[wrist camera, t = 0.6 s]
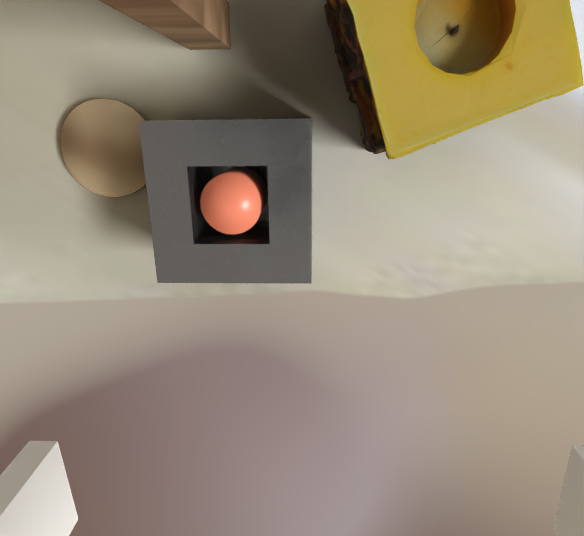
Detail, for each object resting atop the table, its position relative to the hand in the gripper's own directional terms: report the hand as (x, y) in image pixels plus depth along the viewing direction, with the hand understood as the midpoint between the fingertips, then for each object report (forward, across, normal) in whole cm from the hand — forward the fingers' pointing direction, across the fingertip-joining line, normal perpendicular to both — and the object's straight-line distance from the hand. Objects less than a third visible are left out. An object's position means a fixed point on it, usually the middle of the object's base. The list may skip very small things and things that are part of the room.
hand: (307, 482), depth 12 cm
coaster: (+25, -15, +7) cm, 30 cm away
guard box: (+25, -5, +4) cm, 25 cm away
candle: (+25, +7, +12) cm, 29 cm away
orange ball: (+22, -5, +4) cm, 23 cm away
